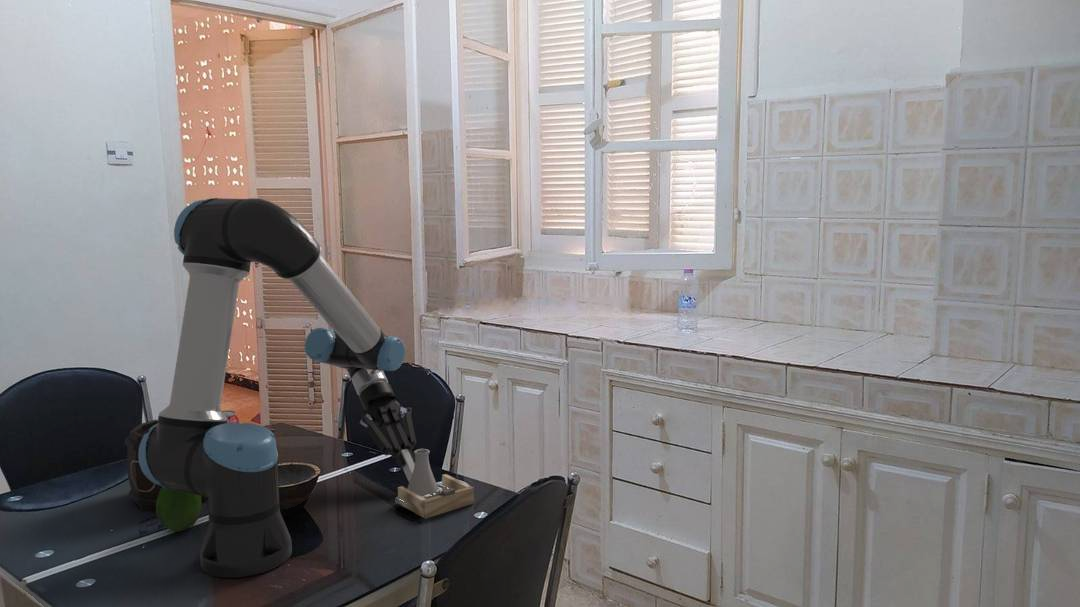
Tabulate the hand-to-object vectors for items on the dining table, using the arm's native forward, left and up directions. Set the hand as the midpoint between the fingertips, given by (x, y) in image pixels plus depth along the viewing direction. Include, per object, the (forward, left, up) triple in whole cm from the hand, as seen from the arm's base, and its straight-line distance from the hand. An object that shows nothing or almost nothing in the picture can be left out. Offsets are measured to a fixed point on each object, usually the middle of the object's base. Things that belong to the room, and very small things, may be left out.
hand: (413, 477), depth 165 cm
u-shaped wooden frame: (-7, -4, -3) cm, 9 cm away
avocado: (-11, +45, -3) cm, 46 cm away
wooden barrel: (+7, +50, -3) cm, 50 cm away
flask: (-3, -2, -3) cm, 5 cm away
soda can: (+29, +45, -3) cm, 53 cm away
